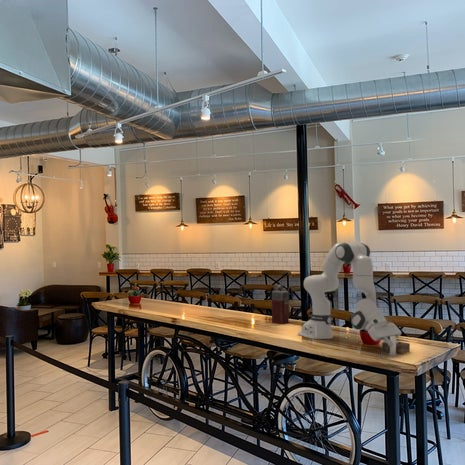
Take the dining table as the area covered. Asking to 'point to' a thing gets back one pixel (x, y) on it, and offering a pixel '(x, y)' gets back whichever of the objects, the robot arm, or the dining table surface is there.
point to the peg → (393, 346)
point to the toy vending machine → (280, 306)
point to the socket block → (397, 347)
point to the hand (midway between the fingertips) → (393, 344)
